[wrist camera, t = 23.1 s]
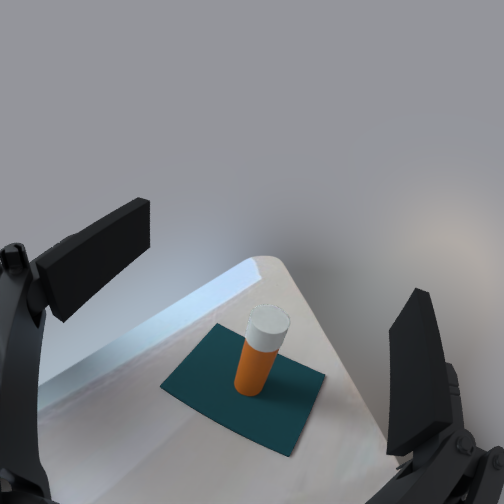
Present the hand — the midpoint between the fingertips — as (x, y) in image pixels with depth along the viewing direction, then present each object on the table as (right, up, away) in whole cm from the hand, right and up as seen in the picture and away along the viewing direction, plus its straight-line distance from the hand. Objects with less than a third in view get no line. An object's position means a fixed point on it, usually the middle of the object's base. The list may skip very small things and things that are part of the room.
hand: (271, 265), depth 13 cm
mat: (-1, -17, +22) cm, 28 cm away
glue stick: (-1, -17, +22) cm, 27 cm away
